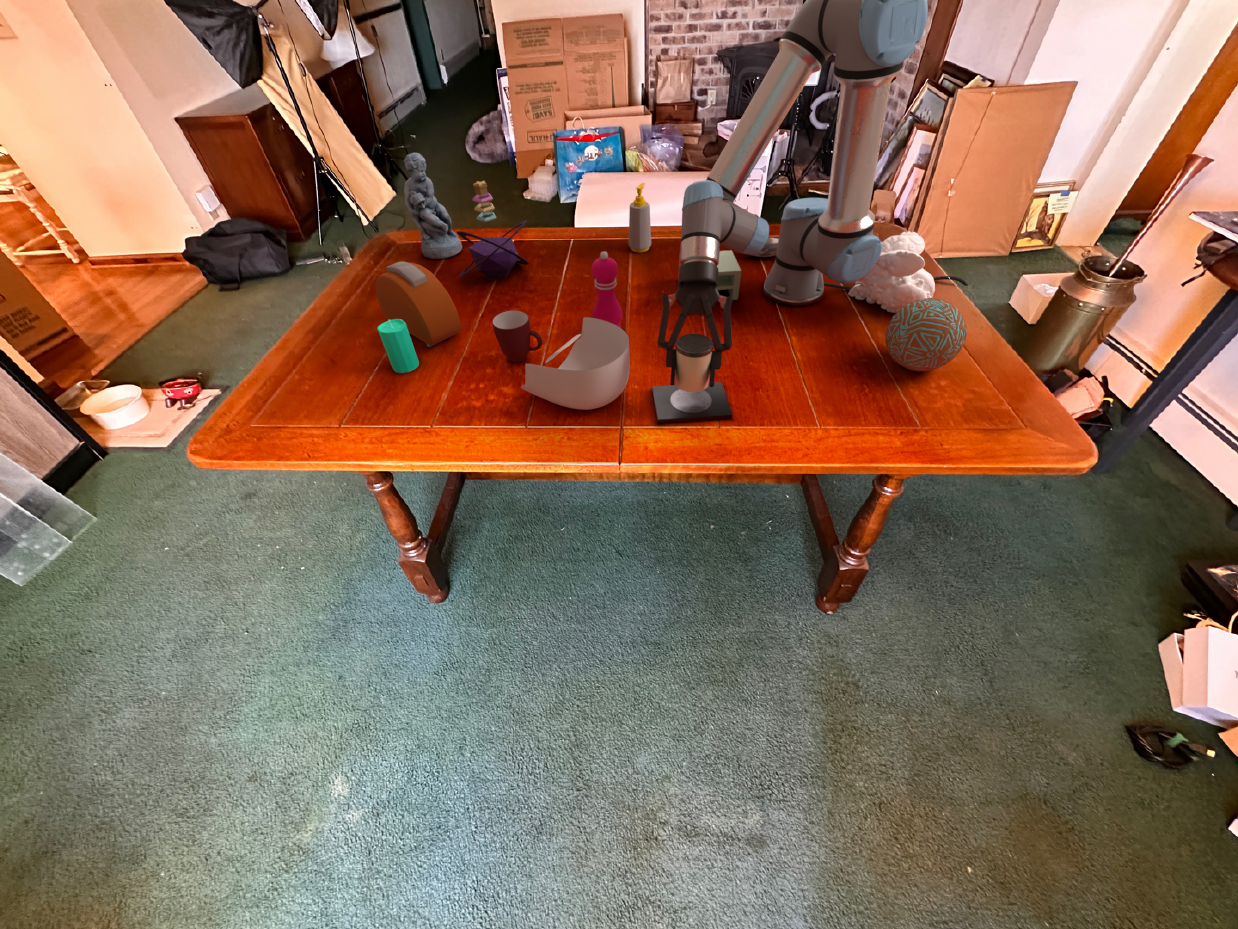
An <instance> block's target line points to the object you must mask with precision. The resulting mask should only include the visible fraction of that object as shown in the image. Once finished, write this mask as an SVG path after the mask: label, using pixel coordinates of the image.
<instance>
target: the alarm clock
mask: <svg viewBox="0 0 1238 929" xmlns="http://www.w3.org/2000/svg"><path fill="white" fill-rule="evenodd" d="M375 294H376V299H377V302H378V304H379V305H378V306H379V308H380V310H381V312H382V314H383V316H384V317H385V318H386V319H387V320H389V319H390V320H393V319H402V320H403V321H404V322H405V323H406V326H407V329H408V331H409V334H411V336H413V337H415V338H417V339H418V340H420V341H421V342H423V343H425V344H426V347H428V348H431V347H433V346H435V345H437V344H439V343H442V342H443V341H445V340H447V339H449V338H452V337H453V336H455V335H456V334H458V333H460V332H461V331H462V330H463V329H462V323H461V319H460V316H459V313H458V310H457V308H456V305H455V303H454V302H453V299H452V298H451V295H449V293H448V291H447V289H446V288H445V286H443V283H441V282H440V280H439V279H438V278H437V277H436V276H435V275H434V274H433V272H432V271H430V270H429V269H427V268H426V267H424V266H423V265H421V264H418V263H415V262H407V261H397V262H394V263H392V264H389V265H387V266H386V272H384V273H382V274H380V275H379V276H378V277H377V278H376V280H375Z"/></svg>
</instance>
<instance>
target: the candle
mask: <svg viewBox="0 0 1238 929" xmlns="http://www.w3.org/2000/svg"><path fill="white" fill-rule="evenodd" d="M376 329H377V332H378V334H379V338H380V340H381V342H382V345H383V347H384V349H385V353H386V355H387V357H388V361H389V363H390V365H391V368H392V370H393V371H394V372H395V373H398V374H405V373H410V372H412V371H415V370H416V369H417V368H418V367H419V365H420V361H419V358H418V355H417V352H416V350H415V346H414V343H413V341H412V337H411V335H410V333H409V331H408V329H407V326H406V323H405V322H404V321H403V320H402V319H393V320H390V319H387V321H384V322H382V323H381V324H380V325H378V326H377V328H376Z"/></svg>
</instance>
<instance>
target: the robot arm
mask: <svg viewBox="0 0 1238 929" xmlns="http://www.w3.org/2000/svg"><path fill="white" fill-rule="evenodd" d="M928 6H929V5H928V0H805V1H804V3H803V4H802V5H801V6H800V8H799V9H798V11H797V12H796V13H795V15H794V16H793V18H792V19H791V20H790V22H789V24H788V26H787V27H786V29H785V31H784V33H783V34H782V36H781V38H780V39H779V41H778V47H779V52H778V53H777V55H776V57H775V59H774V60H773V62H772V64H771V65H770V67H769V69H768V71H767V72H766V74H765V75H764V78H763V79H762V81H761V82H760V85H759V86H758V88H757V90H756V92H755V93H754V95H753V96H752V98H751V100H750V102H749V104H748V106H747V107H746V109H745V110H744V113H743V114H742V116H741V118H740V120H739V121H738V123H737V125H736V127H735V128H734V130H733V132H732V134H731V135H730V137H729V139H728V141H727V142H726V144H725V146H724V147H723V149H722V151H721V153H720V154H719V156H718V158H717V160H716V161H715V163H714V165H713V166H712V168H711V170H710V172H709V173H708V175H707V177H706V179H703V180H702V179H701V180H697V181H694V182H692V183H691V184H689V185H688V186H687V187H686V188H685V190H684V193H683V198H682V199H683V200H682V208H681V230H680V231H681V232H680V233H681V235H680V250H679V256H680V265H681V267H680V268H679V267H678V279H679V282H677V289H676V291H675V293H674V294H669V295H668V294H666V293H664V294H662V295H661V303H662V307H663V308H662V313H661V319H660V323H659V324H660V325H659V329H658V330H659V331H658V337H657V347H658V348H660V349H663V350H665V352H666V353H665V367H666V368H670V385H675V367H676V348H674V347H676V341H677V340H678V338H679V337H680V334H681V332H682V329H683V328H684V324H685V323H686V320H687V318H688V316H689V317H690V316H691V317H692V316H699V317H704V320H705V322H706V326H707V329H708V333H709V336H710V339H711V340H712V341H713V350H712V358H711V367H710V377H709V387H713V386H714V383H715V376H716V370H720V369H721V367H722V358H723V353H724V352H726V351H730V350H731V349H732V347H733V335H732V334H733V333H732V317H731V316H732V314H731V307H732V304H733V302H734V300H733V297H731V296H730V295H728V296H724V295H721V294H720V292H719V290H718V289H717V285H718V267H717V265H718V264H719V251H721V250H720V249H721V248H720V247H721V246H722V247H723V248H727V249H729V250H732V251H735V252H738V254H744V255H747V256H752V255H754V254H756V253H758V252H759V251H760V250H761V249H762V248H763V247H764V245H765V243H766V241H767V239H768V238H769V236H770V226H769V222H768V221H767V219H765V218H763V217H760V216H759V215H758V214H756V213H755V214H754V213H752V212H749V211H748V210H746V209H744V208H743V207H741V206H739V205H738V204H736V203H734V202H735V200H736V199H737V197H738V195H739V194H740V192H741V190H742V189H743V186H745V183H746V182H747V180H748V179H749V177H750V175H751V173H752V172H753V170H754V169H755V167H756V166H757V164H758V162H759V160H760V159H761V157H762V156H763V154H764V152H766V149H767V148H768V146H769V145H770V143H771V141H772V139H773V138H774V136H775V135H776V133H777V131H778V130H779V128H780V126H781V125H782V123H783V121H784V119H785V118H786V116H787V115H788V113H789V112H790V110H791V109H792V107H793V105H794V104H795V102H796V100H797V99H798V97H799V95H800V94H801V92H802V90H803V89H804V88H805V86H806V83H807V82H808V80H809V79H810V77H811V76H812V75H813V74H815V73H818V72H820V71H821V69H822V68H823V66H824V64H826V61H827V60H828V59H829V58H830V57H831V56H832V55H834V54H835V57H834V65H833V66H834V67H833V77H834V78H835V80H836V81H837V82H838V83H839V84H840V92H839V100H838V108H837V116H836V127H835V133H834V134H835V135H834V144H833V152H832V160H831V168H830V169H831V170H830V178H829V186H828V196H827V198H824V197H804V198H797V199H794V200H792V201H789V202H787V204H786V205H785V206H784V209H783V213H782V217H781V218H780V227H779V233H778V238H779V240H778V246H777V253H776V255H775V259H774V262H773V265H772V267H771V269H770V270H769V272H768V274H767V276H766V278H765V281H764V283H763V288H762V289H763V290H762V291H763V294H764V295H765V297H766V298H767V299H769V300H770V301H772V302H774V303H777V304H780V305H783V306H789V307H804V306H810V305H814V304H815V303H818V302H819V301H820V300H821V299H822V298H823V295H824V291H825V287H829V288H835V289H839V290H846V291H850V290H851V289H852V288H853V287H854V286H847V285H850V284H854V283H856V281H858V280H859V281H860V280H861V279H863V277H864V276H865V275H866V274H867V273H868V272H869V271H870V270H871V269H872V268H873V267H874V265H875V264H876V262H877V261H878V259H879V256H880V254H881V250H882V241H881V239H880V237H879V236H878V235H875V234H874V230H875V223H876V215H875V213H874V212H872V210H870V208H871V202H872V195H873V190H874V185H875V178H876V172H877V166H878V160H879V155H880V149H881V145H882V144H881V142H882V138H883V137H882V136H883V131H884V125H885V119H886V115H887V114H886V113H887V107H888V102H889V95H890V89H891V84H892V81H893V79H894V78H895V77H896V76H897V75H899V74H900V73H901V72H902V71H903V67H904V62H905V61H906V60H908V58H910V56H912V54H913V53H914V52H915V50H916V49H917V48H916V47H917V46H916V45H917V44H919V43H920V41H921V40H922V38H923V35H924V32H925V30H926V26H927V21H928V12H929V7H928ZM824 276H825V277H827V278H828V279H829V280H832V281H834V282H836V283H832V282H825V281H824ZM932 277H933V279H934V282H935V281H943V280H944V281H945V280H948V281H949V280H950V281H951V280H952V281H956V282H959V283H961V284H962V285H963V286H964V287H969V284H968V282H967V281H966V280H965V279H963V278H961V277H958V276H954V275H942V276H932ZM948 277H950V279H949V278H948ZM837 283H839V284H837ZM675 302H677V304H678V305H679V307H680V309H681V310H680V312H679V315H678V318H677V320H676V323H675V325H674V327H673V330H672V332H671V334H670V336H669V339H668V341H666V335H667V330H668V324H669V318H670V308H672V307H673V305H674V303H675ZM717 303H719V307H720V308H721V309H722V321H723V322H722V324H723V342H724V343H722V341H721V337H720V334H719V331H718V328H717V324H716V322H715V318H714V314H713V311H712V309H713V308H714V307H715V306H716V304H717Z"/></svg>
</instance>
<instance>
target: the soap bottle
mask: <svg viewBox="0 0 1238 929" xmlns="http://www.w3.org/2000/svg"><path fill="white" fill-rule="evenodd" d="M645 185H646V182H642V183H640V184H639V185H637V186H636V187H635V190H636V193H637V195H636V196H635V199H634V200H633V201H632V202H631V203H630V204H629V214H628V216H629V217H628V220H629V221H628V223H629V224H628V247H629V248H630V250H631V251H632V252H634V253H645V252H647V251H649V250H650V247H651V246H652V229H651V228H652V227H651V211H650V210H651V208H650V203H649V202H648V201H646V199H644V196H643V195H642V193H643V190H644V187H645Z"/></svg>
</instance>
